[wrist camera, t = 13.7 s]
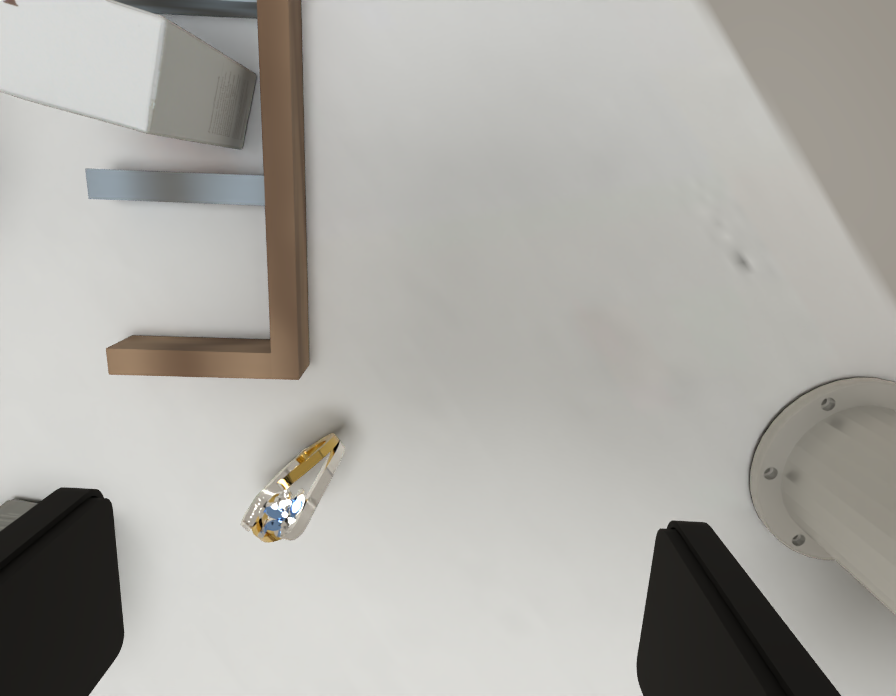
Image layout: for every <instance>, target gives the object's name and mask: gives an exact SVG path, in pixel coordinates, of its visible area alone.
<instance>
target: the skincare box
mask: <svg viewBox="0 0 896 696" xmlns="http://www.w3.org/2000/svg"><path fill="white" fill-rule="evenodd" d="M255 81H256V74H255V73H254V72H252V71H250V70H249V69H247V68H246V67H244V66H242V65H241V64H239V63H237V62H236V61H234V60H233V59H231V58H229V57H228V56H226V55H224V54H223V53H221V52H220V51H218V50H217V49H215V48H213V47H212V46H210V45H209V44H207V43H205V42H204V41H202V40H201V39H199V38H197V37H196V36H194V35H193V34H191V33H189V32H188V31H186V30H184V29H183V28H181V27H179V26H178V25H176V24H174V23H173V22H171V21H169V20H168V19H166V18H165V17H163V16H160V15H157V14H154V13H151V12H148V11H145V10H142V9H138V8H135V7H132V6H129V5H126V4H123V3H120V2H117V1H114V0H0V92H3V93H6V94H9V95H12V96H15V97H18V98H21V99H25V100H28V101H31V102H35V103H38V104H42V105H45V106H49V107H53V108H56V109H60V110H64V111H68V112H71V113H75V114H79V115H82V116H86V117H90V118H94V119H97V120H101V121H104V122H108V123H111V124H115V125H119V126H122V127H126V128H130V129H133V130H137V131H140V132H143V133H148V134H154V135H159V136H164V137H170V138H176V139H181V140H187V141H193V142H198V143H204V144H210V145H216V146H222V147H228V148H234V149H239V150H240V149H242V147H243V144H244V138H245V132H246V126H247V121H248V116H249V111H250V106H251V101H252V96H253V91H254V86H255Z"/></svg>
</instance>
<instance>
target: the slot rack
mask: <svg viewBox="0 0 896 696" xmlns="http://www.w3.org/2000/svg"><path fill="white" fill-rule="evenodd" d="M114 1H117V2H120V3H123V4H126V5H129V6H132V7H135V8H138V9H142V10H145V11H148V12H151V13H158V14H178V15H198V16H219V17H239V18H258V43H259V68H260V93H261V118H262V142H263V167H264V176H260V175H235V174H210V173H185V172H160V171H135V170H110V169H85V170H86V179H87V188H88V196H89V199H106V200H132V201H158V202H185V203H211V204H237V205H263V206H265V217H266V242H267V267H268V292H269V317H270V340H269V339H235V338H202V337H169V336H136V335H132V336H130V337H128V338H126V339H124V340H122V341H120V342H118V343H116V344H114V345H112V346H110V347H108V348H106V354H107V362H108V371H109V374H110V375H146V376H182V377H218V378H254V379H290V380H299V379H300V377H301V376H302V374H303V373H304V372H305V370H306V369H307V367H308V366H309V327H308V283H307V240H306V196H305V152H304V109H303V65H302V21H301V0H114Z"/></svg>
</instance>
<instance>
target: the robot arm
mask: <svg viewBox="0 0 896 696" xmlns="http://www.w3.org/2000/svg"><path fill="white" fill-rule="evenodd" d="M750 490H751V496H752V501H753V505H754V507H755V509H756V511H757V514H758V516H759V518H760V519H761V521H762V522H763V523H764V525H765V526H766V527H767V529H768V530H769V531H770V532H771V533H772V534H773V535H774V536H775V537H776V538H777V539H778V540H779V541H780V542H782V543H783V544H784V545H786V546H787V547H789V548H790V549H792V550H793V551H796V552H798V553H801V554H803V555H806V556H808V557H813V558H818V559H823V560H836V561H837V562H838V563H839V564H840V565H841V566H842V567H843V568H845V569H846V570H847V571H848V572H849V573H850V574H851V575H852V576H853V577H854V578H855V579H856V580H858V581H859V582H860V583H861V584H862V585H863V586H864V587H865V588H866V589H867V590H868V591H869V592H871V593H872V594H873V595H874V596H875V597H876V598H877V599H878V600H879V601H880V602H881V603H882V604H884V605H885V606H886V607H887V608H888V609H889V610H890V611H891V612H892V613H893V614H894V615H895V616H896V383H895V382H891V381H887V380H883V379H878V378H858V377H857V378H851V379H844V380H838V381H835V382H832V383H829V384H826V385H823V386H820V387H818V388H816V389H814V390H812V391H810V392H809V393H807V394H805V395H803V396H801V397H800V398H799V399H797V400H796V401H795V402H793V403H792V404H791V405H789V406H788V407H787V408H786V409H785V410H784V411H783V412H782V413H781V414H780V415H779V416H778V417H777V418H776V419H775V420H774V421H773V422H772V424H771V425H770V427H769V428H768V429H767V431H766V432H765V434H764V435H763V437H762V439H761V441H760V443H759V445H758V448H757V450H756V452H755V454H754V459H753V463H752V467H751V472H750ZM123 639H124V625H123V614H122V604H121V593H120V582H119V572H118V561H117V550H116V540H115V529H114V518H113V508H112V503H111V502H110V500H109V499H107V498H104V497H103V495H102V493H101V492H100V491H99V490H97V489H83V488H59V489H57V490H56V491H54V492H53V493H51V494H50V495H49V496H47V497H46V498H45V499H43V500H42V501H41V502H39V503H38V504H37V505H35V506H34V507H32V508H31V509H30V510H28V511H27V512H26V513H24V514H23V515H22V516H20V517H19V518H18V519H16V520H15V521H13V522H12V523H11V524H9V525H8V526H7V527H5V528H4V529H3V530H1V531H0V696H89V694H90V693H91V691H92V690H93V689H94V687H95V686H96V685H97V683H98V682H99V681H100V679H101V678H102V677H103V675H104V674H105V672H106V671H107V670H108V668H109V667H110V666H111V664H112V663H113V662H114V660H115V659H116V657H117V656H118V654H119V652H120V650H121V647H122V644H123ZM637 677H638V682H639V685H640V688H641V691H642V693H643V696H841V695H840V694H839V692H838V691H837V690H836V688H835V687H834V686H833V685H832V683H831V682H830V681H829V679H828V678H827V677H826V675H825V674H824V673H823V672H822V670H821V669H820V668H819V666H818V665H817V664H816V663H815V661H814V660H813V659H812V657H811V656H810V655H809V653H808V652H807V651H806V650H805V648H804V647H803V646H802V644H801V643H800V642H799V641H798V639H797V638H796V637H795V635H794V634H793V633H792V631H791V630H790V629H789V628H788V626H787V625H786V624H785V622H784V621H783V620H782V619H781V617H780V616H779V615H778V613H777V612H776V611H775V610H774V608H773V607H772V606H771V604H770V603H769V602H768V600H767V599H766V598H765V597H764V595H763V594H762V593H761V591H760V590H759V589H758V588H757V586H756V585H755V584H754V582H753V581H752V580H751V578H750V577H749V576H748V575H747V573H746V572H745V571H744V569H743V568H742V567H741V566H740V564H739V563H738V562H737V560H736V559H735V558H734V556H733V555H732V554H731V553H730V551H729V550H728V549H727V547H726V546H725V545H724V544H723V542H722V541H721V540H720V538H719V537H718V536H717V534H716V533H715V532H714V531H713V529H712V528H711V527H710V526H709V525H708V524H707V523H704V522H688V521H671V522H670V523H669V524H668V526H667V529H659V530H658V532H657V536H656V541H655V547H654V554H653V560H652V566H651V573H650V579H649V586H648V592H647V598H646V605H645V611H644V617H643V624H642V630H641V637H640V643H639V649H638V656H637Z"/></svg>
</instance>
